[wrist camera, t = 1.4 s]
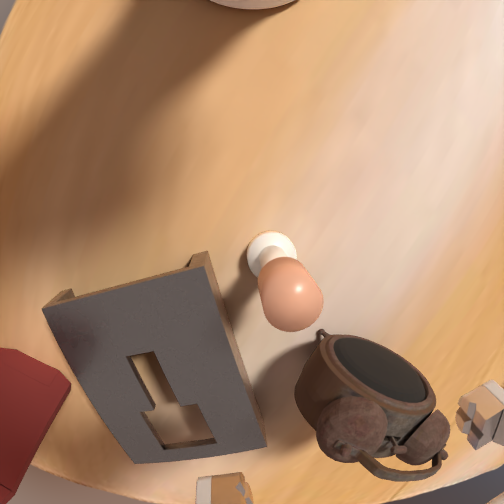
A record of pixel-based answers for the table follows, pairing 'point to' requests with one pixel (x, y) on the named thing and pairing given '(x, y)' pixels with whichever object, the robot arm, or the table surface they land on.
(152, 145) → the table surface
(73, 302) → the keyhole board
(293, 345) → the table surface
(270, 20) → the table surface
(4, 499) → the carton
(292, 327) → the peg
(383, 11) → the table surface
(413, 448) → the alarm clock
